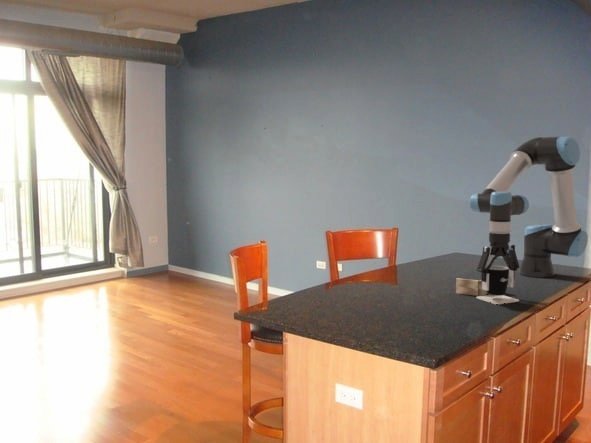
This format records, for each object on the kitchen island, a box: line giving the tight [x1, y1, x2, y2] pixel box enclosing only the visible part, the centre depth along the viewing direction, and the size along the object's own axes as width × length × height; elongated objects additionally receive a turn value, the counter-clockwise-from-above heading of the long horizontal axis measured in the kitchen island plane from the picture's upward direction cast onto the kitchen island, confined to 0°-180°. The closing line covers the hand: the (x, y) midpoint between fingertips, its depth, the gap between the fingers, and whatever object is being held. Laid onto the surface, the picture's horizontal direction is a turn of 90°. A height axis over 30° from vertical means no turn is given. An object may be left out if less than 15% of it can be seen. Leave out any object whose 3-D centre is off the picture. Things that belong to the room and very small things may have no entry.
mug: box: [486, 264, 510, 296], centre depth 221 cm, size 12×9×10 cm
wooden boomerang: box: [455, 277, 489, 297], centre depth 232 cm, size 18×8×6 cm, turn 114°
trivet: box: [476, 294, 520, 305], centre depth 221 cm, size 11×11×1 cm
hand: (497, 288), depth 221 cm, fingers closed on mug, 11 cm apart
